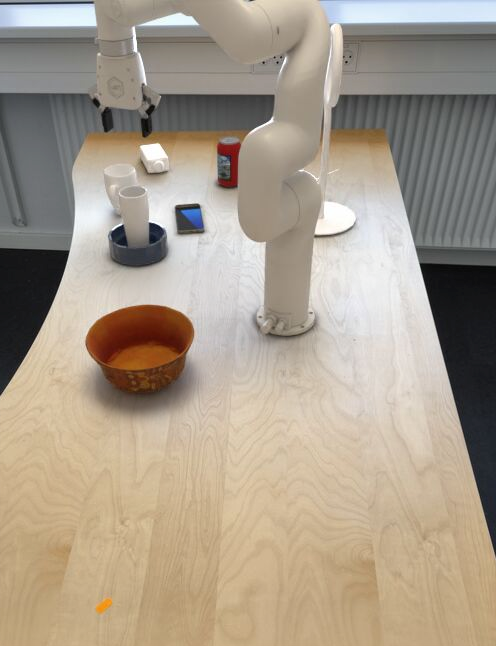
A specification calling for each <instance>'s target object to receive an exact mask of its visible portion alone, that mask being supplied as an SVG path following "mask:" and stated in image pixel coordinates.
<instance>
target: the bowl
mask: <svg viewBox="0 0 496 646" xmlns="http://www.w3.org/2000/svg"><path fill="white" fill-rule="evenodd" d="M194 338H195V328H194V325H193V322H192V321H191V320H190V318H189V317H188V316H187V315H186V314H184V313H183V312H182V311H179V310H177V309H175V308H172V307H169V306H166V305H160V304H138V305H131V306H126V307H123V308H119V309H117V310H115V311H112V312H109V313H107V314H105V315H103V316H101V317H100V318H99V319H97V320H96V321H95V322H94V323H93V324H92V326H90V328H89V329H88V332H87V334H86V336H85V340H84V342H85V349H86V350H87V353H88V354H89V356H90V357H91V358H92V359H93V361H95V362H96V364H97V365H99V367H100V369H101V371H102V374H103V376H104V378H105V380H106V381H107V382H108V383H109V384H110V385H111V386H113V387H114V388H116V389H118V390H120V391H122V392H125V393H131V394H132V393H133V394H146V393H152V392H153V393H154V392H157V391H160V390H163V389H164V388H167V387H169V386H170V385H172V384H173V383H174V382H176V380H178V379H179V377H181V375H182V374H183V371H184V370H185V365H186V360H187V354H188V352H189V350H190V348H191V346H192V344H193V342H194Z"/></svg>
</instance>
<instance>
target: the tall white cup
mask: <svg viewBox="0 0 496 646" xmlns="http://www.w3.org/2000/svg"><path fill="white" fill-rule="evenodd" d="M119 203H120V210H121V215H122V216H121V219H122V223H123V224H124V229H125V234H126V238H127V243H128V247H144V246H148V245H150V244H149V221H150V205H149V204H150V203H149V196H148V190H147V188H146V187H144V186H141V185H137V186H127V187H124V188H122V189H121V190H120V191H119Z"/></svg>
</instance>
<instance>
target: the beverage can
mask: <svg viewBox="0 0 496 646" xmlns="http://www.w3.org/2000/svg"><path fill="white" fill-rule="evenodd" d="M241 145H242V143H241V141H240V139H239V137H238V136H235V135H225V136H222V137H220V138H219V140H218V142H217V145H216V165H217V182H218V183H219V184H220V185H221V186H223V187H227V188H233V187H237V186H238V158H239V152H240V148H241Z"/></svg>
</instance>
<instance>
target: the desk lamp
mask: <svg viewBox="0 0 496 646" xmlns="http://www.w3.org/2000/svg"><path fill="white" fill-rule="evenodd" d="M330 29H331V54H330V61H329V66H328V72H327V78H326V84H325V93H324V106H323V132H322V145H321V146H322V147H321V158H320V170H319V171H320V172H319V177H317V178H316V179H317V181H319V185H320V188H321V193H322V202H321V209H320V213H319V217H318V221H317V224H316V229H315V235H314V236H331V235H336V234H340V233H343V232H346V231H348V230H349V229H351V228H352V227H354V225H355V223H356V221H357V217H356V214H355V212H354V211H353V210H352V209H351V208H349V207H348V206H346V205H343V204H340V203H337V202H331V201H326V190H327V177H328V175H331V174H333V173H335V172H338V171H340V168H338V169H335V170H332V171H330V172H328V166H329V165H328V164H329V153H330V141H331V128H332V108H335V107H336V106H337V104H338V102H339V99H340V95H341V87H342V77H343V66H344V65H343V62H344V35H343V34H344V33H343V29H342V26H341V24H340V23H338V22H336V23H333V24H332V25H330Z"/></svg>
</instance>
